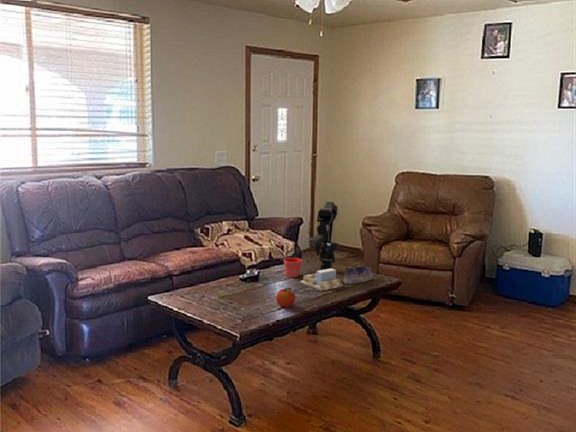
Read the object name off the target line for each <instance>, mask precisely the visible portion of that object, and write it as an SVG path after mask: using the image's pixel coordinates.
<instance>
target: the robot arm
mask: <svg viewBox="0 0 576 432" xmlns="http://www.w3.org/2000/svg"><path fill="white" fill-rule="evenodd" d="M323 206H324V207H323V208H320V209H319V210H318V211H317V213H318V214H317V217H316V218H317V220H316V222H317V223H319V224H318V225H317V227H316V231H317V232H316V234H317V235H315V236H313V237H310V238H309V243H310V244H311V246H313V247H314V250H315V254H316V256H317V257H318V256H319V262H320V269H319V270H318V271H320V270H326V269H331V268H332V269H333V263H335V262H336V254H335V250H337V249H338V248H339V243H337V242H334V241H332V240H333V232H334V222H335V221H336V220H337V216H338V215H339V207H338V206H337V205H336V204H335V202H333V201H326V202H325V205H323ZM322 245H323V246H322Z"/></svg>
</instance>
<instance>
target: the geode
mask: <svg viewBox="0 0 576 432" xmlns="http://www.w3.org/2000/svg"><path fill="white" fill-rule="evenodd" d="M371 269H372V268H371V267H370V266H369V265H357V266H354V267H352V268H348V267H346V268H345V273H344V278H343V284H345V285H356V284H360V283H366V282H369V281H370V280H372V279H373V273H372V272H371Z"/></svg>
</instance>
